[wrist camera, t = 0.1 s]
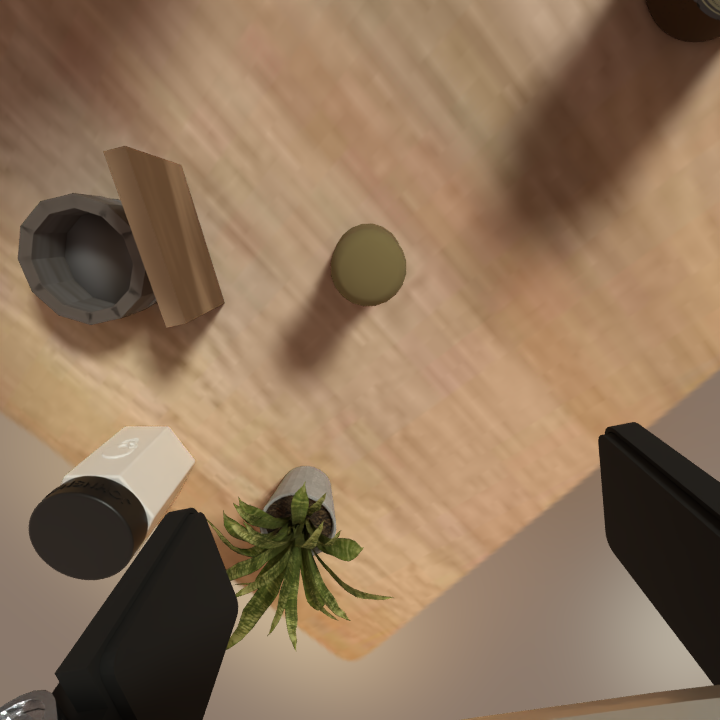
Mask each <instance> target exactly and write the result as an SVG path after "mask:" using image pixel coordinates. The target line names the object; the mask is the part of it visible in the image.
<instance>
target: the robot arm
mask: <svg viewBox="0 0 720 720" xmlns="http://www.w3.org/2000/svg"><path fill="white" fill-rule="evenodd" d="M598 443H599V456H600V468H601V479H602V480H601V481H602V493H603V505H604V518H605V530H606V537H607V541H608V543H609V546H610V548H611V550H612V551H613V553H614V554H615V555H616V557H617V558H618V559H619V561H620V562H621V563H622V565H623V566H624V567H625V569H626V570H627V571H628V572H629V574H630V575H631V576H632V578H633V579H634V580H635V582H636V583H637V584H638V586H639V587H640V588H641V589H642V591H643V592H644V594H645V595H646V596H647V597H648V599H649V600H650V601H651V603H652V604H653V605H654V607H655V608H656V609H657V610H658V612H659V613H660V615H661V616H662V617H663V619H664V620H665V621H666V622H667V624H668V625H669V626H670V628H671V629H672V630H673V632H674V633H675V634H676V636H677V637H678V638H679V640H680V641H681V642H682V643H683V644H684V646H685V647H686V649H687V650H688V651H689V653H690V654H691V655H692V656H693V658H694V659H695V661H696V662H697V663H698V665H699V666H700V667H701V668H702V670H703V671H704V672H705V674H706V675H707V676H708V678H709V679H710V680H711V682H712V683H713V684H714V685H713V686H705V687H696V688H688V689H680V690H671V691H663V692H655V693H648V694H640V695H633V696H626V697H619V698H612V699H605V700H597V701H590V702H583V703H576V704H569V705H561V706H555V707H547V708H540V709H533V710H525V711H519V712H511V713H504V714H497V715H490V716H483V717H476V718H469V719H462V720H720V482H719V481H717V480H716V479H714V478H713V477H712V476H710V475H709V474H707V473H706V472H705V471H703V470H702V469H700V468H699V467H698V466H696V465H695V464H694V463H692V462H691V461H689V460H688V459H687V458H685V457H684V456H682V455H681V454H680V453H678V452H677V451H675V450H674V449H673V448H671V447H670V446H669V445H667V444H666V443H664V442H663V441H662V440H660V439H659V438H657V437H656V436H655V435H653V434H652V433H651V432H649V431H648V430H646V429H645V428H644V427H642V426H641V425H639V424H638V423H636V422H632V423H626V424H621V425H616V426H611V427H607V428H606V430H605V434H604V435H600V436H599V439H598ZM237 614H238V602H237V597H236V595H235V592H234V590H233V587H232V585H231V582H230V579H229V577H228V574H227V572H226V569H225V566H224V564H223V561H222V559H221V556H220V554H219V551H218V548H217V546H216V543H215V541H214V538H213V535H212V533H211V530H210V528H209V525H208V523H207V520H206V517H205V516H204V514H203V513H201V512H199V513H198V512H197V511H196V510H195V509H194V508H188V509H183V510H177V511H172V512H169V513H167V514H166V515H165V517H164V518H163V520H162V521H161V522H160V524H159V525H158V527H157V528H156V530H155V531H154V532H153V534H152V535H151V537H150V538H149V540H148V541H147V542H146V544H145V545H144V547H143V548H142V550H141V551H140V552H139V554H138V555H137V557H136V558H135V560H134V561H133V563H132V564H131V565H130V567H129V568H128V570H127V571H126V573H125V574H124V575H123V577H122V578H121V580H120V581H119V582H118V584H117V585H116V587H115V588H114V590H113V591H112V592H111V594H110V595H109V597H108V598H107V600H106V601H105V602H104V604H103V605H102V607H101V608H100V610H99V611H98V612H97V614H96V615H95V617H94V618H93V619H92V621H91V622H90V624H89V625H88V627H87V628H86V630H85V631H84V632H83V634H82V635H81V637H80V638H79V640H78V641H77V642H76V644H75V645H74V647H73V648H72V649H71V651H70V652H69V654H68V655H67V657H66V658H65V659H64V661H63V662H62V664H61V665H60V667H59V668H58V669H57V671H56V672H55V675H56V677H57V678H58V680H59V684H58V685H57V687H56V688H55V690H54V691H53V693H50V692H48V691H46V690H37V691H32V692H29V693H26V694H23V695H21V696H19V697H17V698H15V699H13V700H12V701H10V702H8V703H6V704H5V705H3V706H2V707H0V720H203V717H204V714H205V711H206V708H207V705H208V702H209V699H210V696H211V692H212V690H213V687H214V684H215V681H216V678H217V675H218V672H219V669H220V666H221V663H222V660H223V657H224V654H225V651H226V648H227V645H228V642H229V639H230V636H231V633H232V629H233V627H234V624H235V621H236V617H237Z"/></svg>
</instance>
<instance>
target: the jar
mask: <svg viewBox="0 0 720 720" xmlns="http://www.w3.org/2000/svg"><path fill="white" fill-rule="evenodd" d="M194 464H195V459H194V458H193V457H192V455H191V454H190V453H189V452H188V450H187V449H186V448H185V446H184V445H183V444H182V442H181V441H180V440H179V439H178V437H177V436H176V435H175V433H174V432H173V431H172V429H171V428H170V427H169V426H125V427H123V428H122V429H121V430H120V431H118V432H117V433H116V434H115V435H114V436H112V437H111V438H110V439H109V440H107V441H106V442H105V443H104V444H103V445H101V446H100V447H99V448H98V449H96V450H95V451H94V452H93V453H92V454H90V455H89V456H88V457H87V458H86V459H84V460H83V461H82V462H81V463H79V464H78V465H77V466H76V467H75V468H73V469H72V470H71V471H70V472H68V473H67V474H66V475H65V476H64V478H63V480H62V483H61V485H60V486H59V487H58V488H56V489H54V490H53V491H52V492H51V493H50V494H48V495H47V496H46V497H45V498H44V499H43V500H42V502H41V503H39V504H38V506H37V507H36V508H35V509H34V511H33V513H32V515H31V518H30V521H29V536H30V540H31V542H32V545H33V547H34V549H35V551H36V552H37V553H38V555H39V556H40V557H41V558H42V559H43V560H44V561H45V562H46V563H47V564H48V565H49V566H51V567H52V568H53V569H55V570H57V571H58V572H60V573H62V574H65V575H67V576H70V577H73V578H77V579H82V580H83V579H84V580H99V579H104V578H107V577H110V576H113V575H115V574H117V573H118V572H120V571H121V570H122V569H123V568H124V567H125V566H126V565H127V564H128V563H129V561H130V560H131V559H132V557H133V556H134V555H136V554H137V552H138V551H139V549H140V548H141V546H142V545H143V544H144V542H145V541H146V539H147V538H148V537H149V535H150V534H151V532H152V531H153V530H154V528H155V527H156V525H157V524H158V522H159V521H160V520H161V518H162V517H163V515H164V514H165V513H166V511H167V510H168V508H169V507H170V505H171V504H172V503H173V501H174V500H175V498H176V497H177V496H178V494H179V493H180V491H181V489H182V487H183V485H184V483H185V481H186V479H187V477H188V475H189V473H190V471H191V469H192V467H193V466H194Z"/></svg>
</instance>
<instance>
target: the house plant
mask: <svg viewBox="0 0 720 720" xmlns="http://www.w3.org/2000/svg"><path fill="white" fill-rule="evenodd" d="M238 497H239V496H238ZM233 504H234V503H233ZM239 505H240V507H239V506H237V505H235V504H234V506H235V508H236V510H237V512H238V513H239V514H240V516H241V517H242V518H243V519H244V520H245V521H246V522H247V523H249V524H251V525H253V526H257V527H260V532H261V533H259V532H256V531H255V530H254V529H253V528H252V527H251V526H250V525H248V524H247V523H245V522H244V521H243V522H244V525H245V526H246V528H247V529H246V528H245V527H243V526H242V525H240V524H239V523H238V522H236V521H235V520H233V519H231V518H229V517H227V516H226V515H225V514H224V510H223V515H224V526H225V528H226V530H227V531H228V533H229V534H230V535H232V536H233V537H235V538H237V539H240V540H243V541H246V542H249V543H250V544H252V545H255V546H254V547H252V548H250V549H240V548H238V547H235V546H233V545H232V544H231V543H230V542H229V541H228V540H227V539H226V538H225V537H224V536H223V535H222V534H221V532H220V531H219V530H218V529H217V528H216V527H215V526H214V525H213V524H212V523H211V522H210V521H208V520H207V519H206V520H207V521H208V522H209V523H210V525H211V526H212V527H213V528H214V530H215V531H216V532H217V534H218V536H219V537H220V539H221V540H222V541H223V542H224V543H225V544H226V545H227V546H228V547H229V548H230V549H232V550H233V551H235V552H237V553H238V554H242V555H245V556H248V557H253V558H250V559H248V560H245V561H242V562H239V563H237V564H235V565H234V566H232V567H231V568H229V569H228V570H226V572H227V574H228V577H229V579H230V581H232V580H234V579H237V578H240V577H243V576H245V575H248V574H251V573H253V572H255V571H256V570H258V569H260V568H261V567H262V566H263V565H264V564H265V563H266V562H267V561H268V562H267V564H266V565H265V566H264V568H263V569H262V570H261V572H260V573H259V574H258V576H257V578H256V580H255V582H253V583H242V584H236V585H245V584H246V585H248V586H246V587H245V588H243V589H241V590H240V591H239V592H238V593H236V594H235V595H236V597H239V596H242V595H245V594H248V593H250V592H252V591H254V590H256V589H258V590H257V591H256V593H255V594H254V596H253V597H252V598H251V600H250V601H249V603H248V604H247V605H246V607H245V608H244V609H243V612H242V615H241V618H240V621H239V624H238V627H237V629H236V630H235V632H234V633H233V635H232V636H231V637H230V639H229V642H228V645H227V648H226V650H227V649H229V648H231V647H232V646H234V645H235V644H236V643H238V642H239V641H241V640H242V639H243V638H244V637H245V635H246V634H248V633H249V631H250V630H251V629H252V628H253V627H254V626H255V624H256V623H257V622H258V620H259V619H260V617H261V616H262V615H263V614H264V612H265V611H266V610H267V608H268V607H269V606H270V605H271V603H272V602H273V601H274V599H275V598H276V596H277V595H278V593H279V589H280V586H281V583H282V581H283V579H284V581H283V584H282V587H281V590H280V594H279V601H278V607H277V611H276V614H275V617H274V619H273V622H272V625H271V629H270V632H269V634H270V633H271V632H272V631H273V630H274V628H275V627H276V625H277V624H278V622H279V620H280V618H281V616H282V614H283V611H284V609H285V616H286V624H287V629H288V633H289V637H290V639H291V641H292V644H293V646H294V648H295V650H296V643H297V639H296V627H297V620H298V619H297V594H298V587H299V575H300V569H301V575H302V580H303V585H304V590H305V595H306V599H307V602H308V603H309V604H310V606H312V607H313V608H314V609H316V610H320V611H322V612H323V613H324V614H326V615H327V616H329V617H330V618H333V619H336V618H335V617H333V616H332V615H331V614H330V613H328V612H327V611H326V610H325V609H324V608H323V606H324V605H325V604H326V605H327V606H328V608H329V609H330V610H331V611H332V612H333V613H334V614H335V615H337V616H339V617H342V618H344V619H346V620H349V619H348V617H347V616H346V614H345V612H343V611H342V610H341V609H340V608H339V607H338V604H337V602H336V600H335V598H334V596H333V595H332V594H331V593H330V591H329V590H328V589H327V587H326V586H325V584H324V582H323V580H322V578H321V575H320V573H319V570H318V568H317V565H316V563H315V560H314V558H313V556H314V555H315V556H316V557H317V559H318V560H319V561H320V563H321V564H322V565H323V567H324V568H325V569H326V570H327V571H328V572H329V573H330V575H331V576H332V577H333V578H334V579H335V580H336V581H337V582H338V584H339V585H340V586H342V587H343V588H344V589H345V590H346V591H347V592H349V593H350V594H352V595H354V596H355V597H358V598H363V599H374V600H385V599H389V598H393V597H386V596H379V595H373V594H368V593H364V592H361V591H358V590H356V589H353V588H352V587H350V586H348V585H347V584H345V583H344V582H343V581H342V580H340V579H339V578H338V577H337V576H336V575H335V573H334V572H333V571H332V570H331V569H330V568H329V567H328V566H327V565H326V564H325V563H324V562H323V561H322V560H321V559H320V557H319V556H318V555H317V554H318V553H320V552H324V553H326V554H329V555H333V556H335V557H336V558H338V559H341V560H344V561H351V560H353V559H354V558H355V557H357V556H358V554H359V553H360V552H361V551H362V550H363V548H361V547H360V546H359V545H358V544H357V543H356V542H355V541H353V540H351V539H346V538H338V537H339V535H340V531H339V532H338V533H337V534H336V535H335V533H336V518H335V511H334V504H333V497H332V490H331V484H330V481H329V479H328V477H327V476H326V474H325V473H323V472H322V471H321V470H319V469H317V468H315V467H310V466H300V467H297V468H294V469H293V470H291V471H290V472H289V473H287V474H286V476H285V477H284V479H283V480H282V482H281V483H280V485H279V486H278V488H277V489H276V491H275V492H274V494H273V495H272V497H271V498H270V500H269V501H268V503H267V504H266V506H265V507H264V509H263V511H262V510H261V509H258V508H256V507H254V506H250V505H247V504H246V503H244V502H242V501H241V500H240V498H239ZM336 620H337V619H336ZM349 621H351V620H349Z"/></svg>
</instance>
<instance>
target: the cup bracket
mask: <svg viewBox="0 0 720 720" xmlns="http://www.w3.org/2000/svg"><path fill="white" fill-rule="evenodd" d="M103 152H104V155H105V158H106V161H107V163H108V166H109V169H110V172H111V175H112V177H113V180H114V183H115V186H116V189H117V191H118V194H119V197H120V200H118V199H109V198H105V197H101V196H92V195H84V194H76V193H72V194H68V195H64V196H60V197H56V198H52V199H48V200H44V201H40V203H39V204H38V205H37V206H36V207H35V209H34V210H33V211H32V212H31V214H30V215H29V216H28V217H27V219H26V220H25V221H24V222H23V223H22V225H21V226H20V239H19V251H18V261H19V263H20V265H21V267H22V270H23V272H24V274H25V277H26V279H27V281H28V283H29V286H30V288H31V290H32V292H33V293H34V294H35V295H36V296H38V297H39V298H40V299H41V300H42V301H43V302H44V303H45V304H47V305H48V306H49V307H50V308H51V309H52V310H53V311H54V312H55V313H57V314H58V315H59V316H62V317H66V318H69V319H73V320H76V321H79V322H83V323H86V324H89V325H93V324H97V323H102V322H106V321H110V320H115V319H119V318H123V317H126V316H129V315H131V314H134V313H137V312H139V311H142V310H144V309H146V308H148V307H150V306H151V305H153V304H154V303H156V302H157V303H158V306H159V309H160V311H161V314H162V317H163V320H164V323H165V325H166V328H168V327H172V326H177V325H181V324H186V323H188V322H190V321H191V320H193V319H195V318H197V317H199V316H201V315H203V314H205V313H207V312H209V311H210V310H212V309H214V308H216V307H218V306H220V305H222V304H224V299H223V296H222V293H221V290H220V287H219V284H218V280H217V277H216V274H215V271H214V268H213V264H212V261H211V258H210V255H209V252H208V248H207V245H206V242H205V239H204V236H203V233H202V229H201V226H200V223H199V220H198V217H197V213H196V210H195V207H194V204H193V201H192V197H191V194H190V191H189V188H188V185H187V182H186V178H185V175H184V172H183V169H182V166H181V165H180V164H177V163H174V162H171V161H168V160H165V159H162V158H159V157H156V156H153V155H150V154H147V153H144V152H141V151H138V150H135V149H132V148H130V147H127V146H122V147H118V148H115V149H111V150H107V151H103Z"/></svg>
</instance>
